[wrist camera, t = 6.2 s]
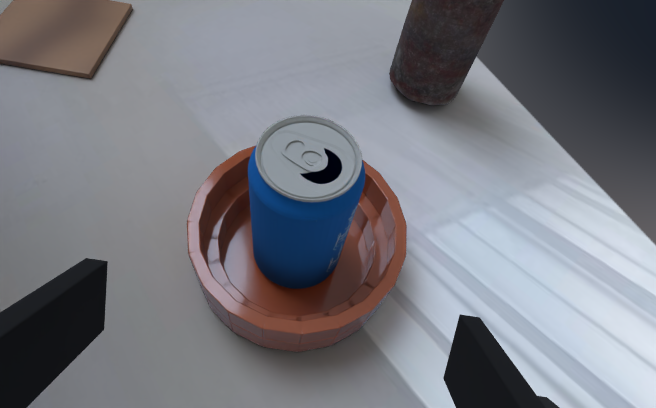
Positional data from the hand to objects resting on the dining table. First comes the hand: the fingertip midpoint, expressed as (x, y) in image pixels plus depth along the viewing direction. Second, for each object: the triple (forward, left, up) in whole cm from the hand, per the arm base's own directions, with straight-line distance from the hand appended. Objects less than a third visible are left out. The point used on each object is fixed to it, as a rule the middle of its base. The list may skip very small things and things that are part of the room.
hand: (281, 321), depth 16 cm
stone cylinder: (+10, +30, -14) cm, 35 cm away
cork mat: (-27, +29, -14) cm, 42 cm away
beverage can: (0, +9, -14) cm, 17 cm away
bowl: (0, +9, -14) cm, 17 cm away
